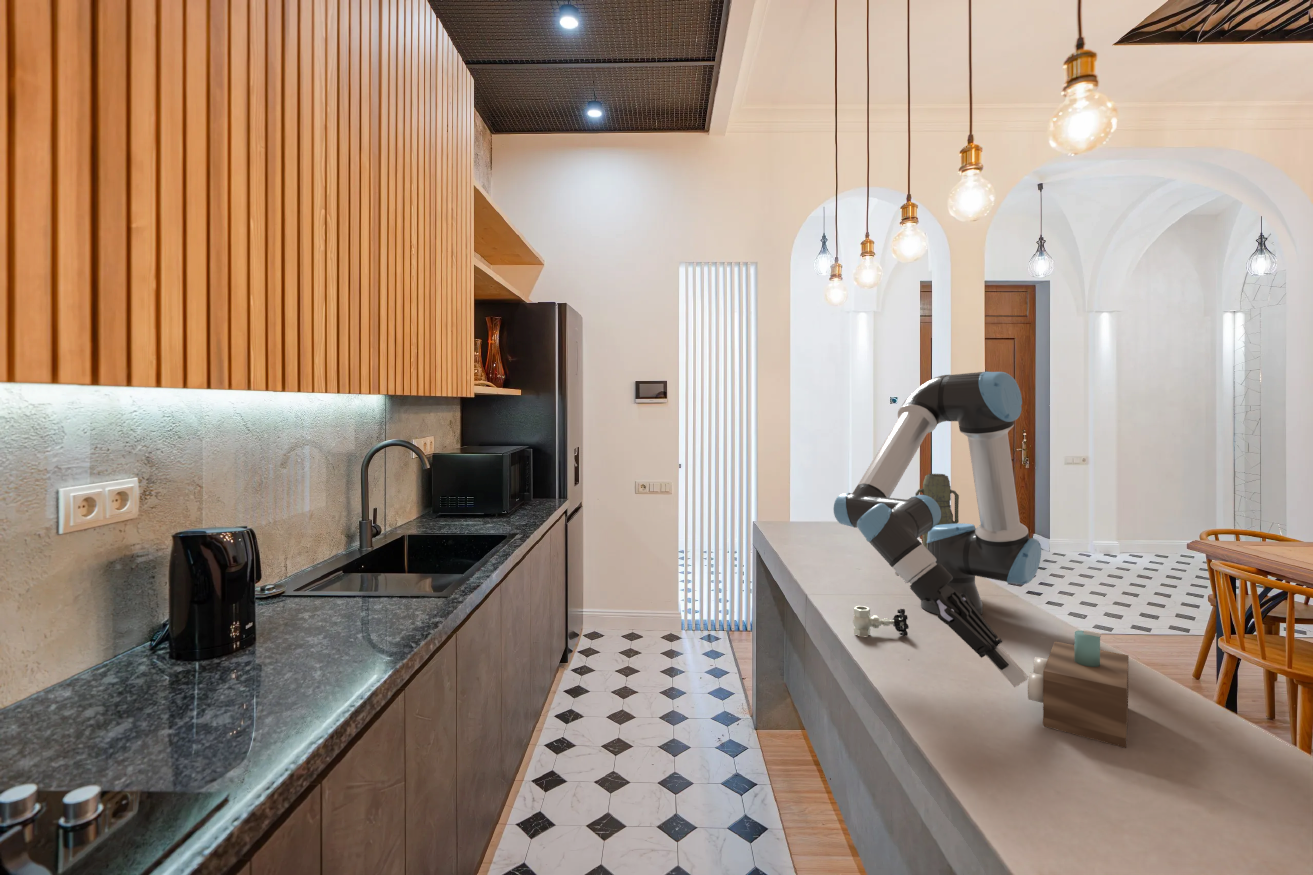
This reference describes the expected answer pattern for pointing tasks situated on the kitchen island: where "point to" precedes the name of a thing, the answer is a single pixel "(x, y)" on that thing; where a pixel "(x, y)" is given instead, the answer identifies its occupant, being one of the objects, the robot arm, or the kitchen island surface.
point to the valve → (877, 621)
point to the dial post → (1087, 648)
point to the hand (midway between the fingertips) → (1021, 681)
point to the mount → (1086, 695)
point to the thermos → (940, 498)
